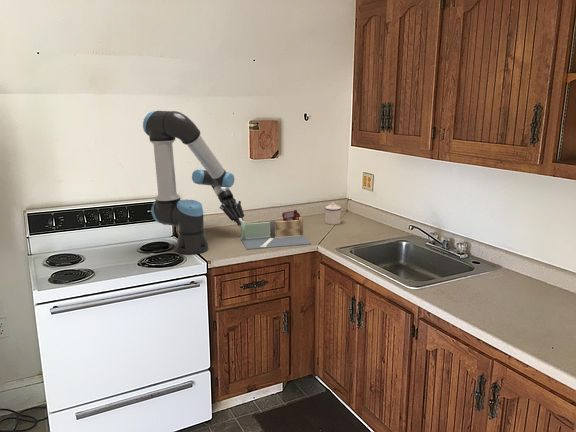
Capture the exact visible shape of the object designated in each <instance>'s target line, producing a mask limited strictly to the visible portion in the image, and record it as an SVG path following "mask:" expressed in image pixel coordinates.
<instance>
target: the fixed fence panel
mask: <svg viewBox="0 0 576 432" xmlns="http://www.w3.org/2000/svg"><path fill="white" fill-rule="evenodd" d="M269 222H270V238H275V233H276V237H288V236H302V235H304V217H303V216H301V217H299V220H292V221H283V220H282V221H276V220H270V221H269Z"/></svg>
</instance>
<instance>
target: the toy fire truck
mask: <svg viewBox="0 0 576 432" xmlns="http://www.w3.org/2000/svg"><path fill="white" fill-rule="evenodd" d="M281 214H282V215H281V216H282V221H292V220H299V217H302V216H301V214H300V213H299V212H298V210H297V209H294V210H289V211H283V212H282V213H281Z"/></svg>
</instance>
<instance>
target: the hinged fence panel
mask: <svg viewBox="0 0 576 432" xmlns="http://www.w3.org/2000/svg"><path fill="white" fill-rule="evenodd" d="M240 229H241V231H240V232H241V236H242V239H246V238H251V237H264V236H270V221H267V222H265V221H264V222H254V223H253V222H252V223H246V220H244V221H241V228H240Z"/></svg>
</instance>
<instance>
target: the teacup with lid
mask: <svg viewBox="0 0 576 432" xmlns="http://www.w3.org/2000/svg"><path fill="white" fill-rule="evenodd" d="M324 216H325V224H327V225H333V226H334V225H340V224H341V221H342V220H341V218H342V207H341V206H340V205H338V204H336V202H331V203H330V204H329V205H326V206H325V207H324Z"/></svg>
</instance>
